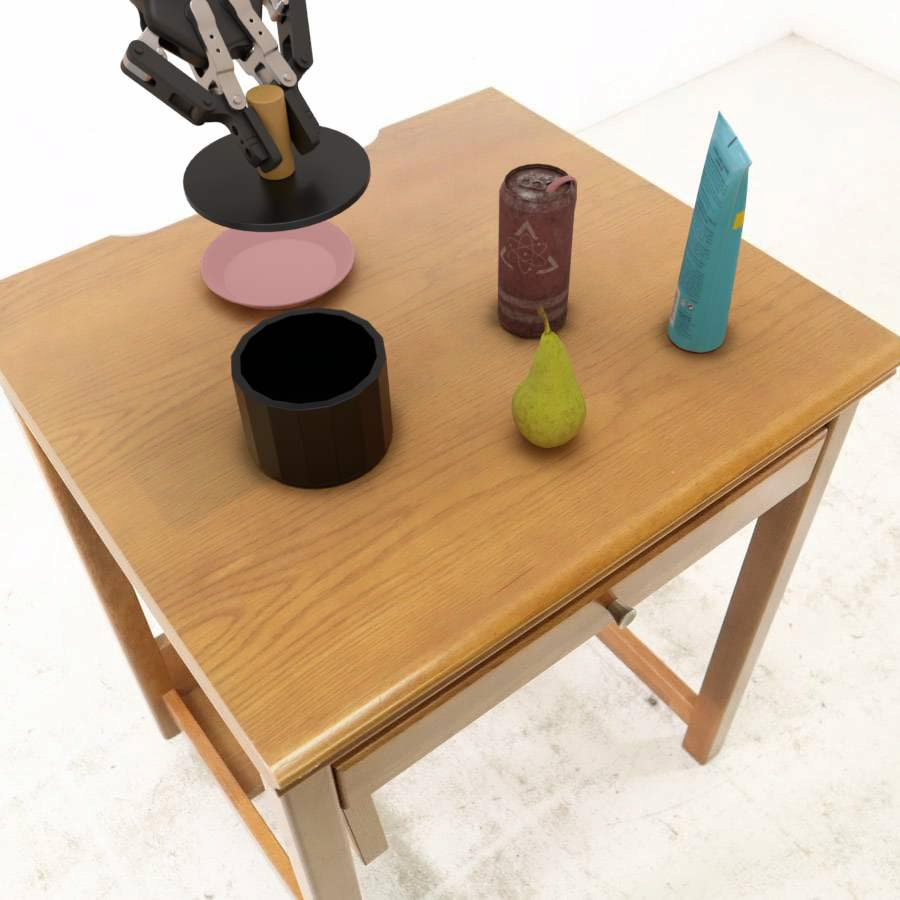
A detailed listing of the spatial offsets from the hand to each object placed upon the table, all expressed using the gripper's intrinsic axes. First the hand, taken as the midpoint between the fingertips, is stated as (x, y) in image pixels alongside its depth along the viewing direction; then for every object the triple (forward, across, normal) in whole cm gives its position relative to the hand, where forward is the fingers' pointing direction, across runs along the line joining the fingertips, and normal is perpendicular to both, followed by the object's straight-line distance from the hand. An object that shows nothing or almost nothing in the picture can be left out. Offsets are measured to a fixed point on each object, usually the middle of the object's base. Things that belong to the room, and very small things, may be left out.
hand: (292, 156), depth 68 cm
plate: (+4, +9, +31) cm, 32 cm away
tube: (+27, +29, +7) cm, 41 cm away
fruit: (+27, +11, +8) cm, 30 cm away
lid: (0, 0, +3) cm, 3 cm away
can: (+19, +21, +16) cm, 33 cm away
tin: (+17, -2, +17) cm, 24 cm away
